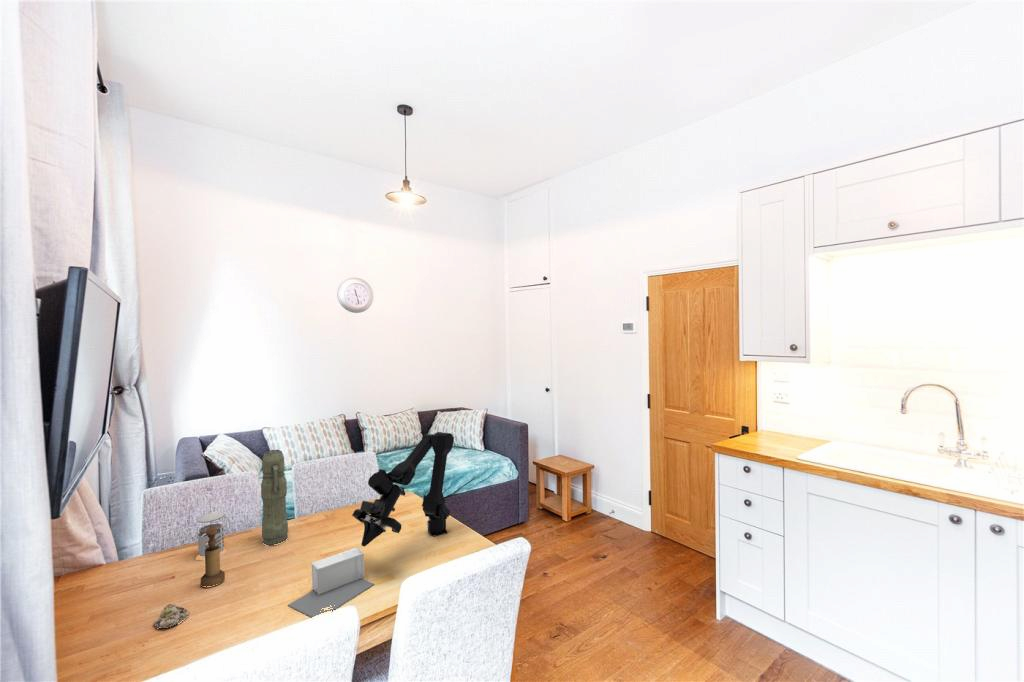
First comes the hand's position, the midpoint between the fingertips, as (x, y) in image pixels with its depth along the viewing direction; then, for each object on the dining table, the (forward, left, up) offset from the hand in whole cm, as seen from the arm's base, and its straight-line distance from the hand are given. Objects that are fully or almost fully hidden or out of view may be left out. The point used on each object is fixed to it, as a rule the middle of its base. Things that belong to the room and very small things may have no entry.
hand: (362, 545), depth 143 cm
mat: (+10, +6, -10) cm, 15 cm away
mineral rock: (+51, -3, -10) cm, 52 cm away
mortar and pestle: (+44, -20, -10) cm, 49 cm away
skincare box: (0, -1, -6) cm, 6 cm away
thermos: (+27, -44, -10) cm, 53 cm away
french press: (+47, -44, -10) cm, 65 cm away
